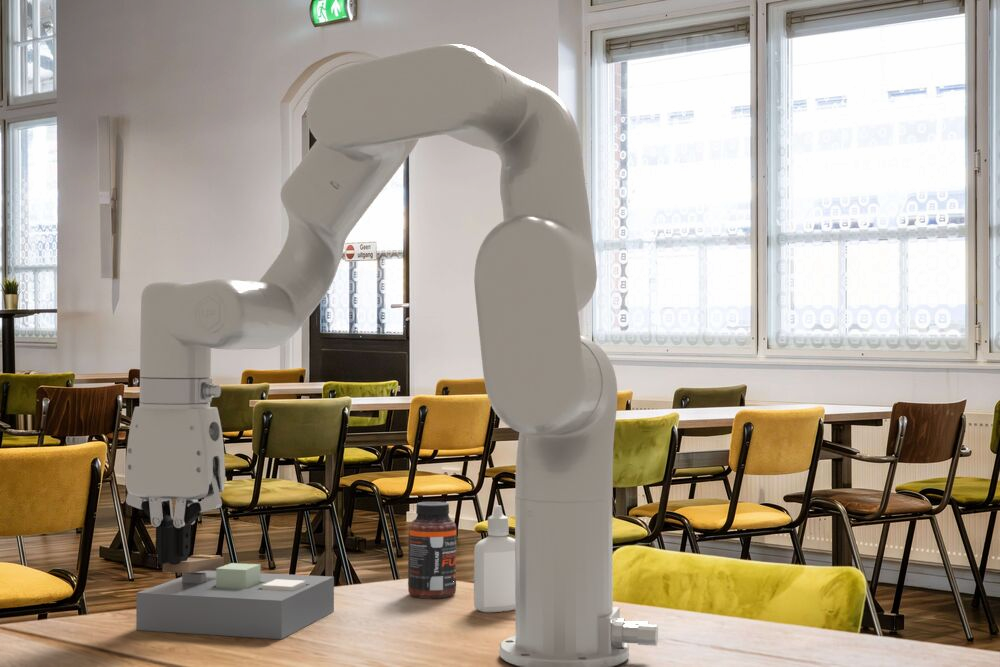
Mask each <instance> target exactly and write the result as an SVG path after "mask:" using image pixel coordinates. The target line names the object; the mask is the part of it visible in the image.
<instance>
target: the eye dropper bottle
mask: <svg viewBox="0 0 1000 667" xmlns="http://www.w3.org/2000/svg"><path fill="white" fill-rule="evenodd" d="M509 525H510V524H509V517H508V516H506V515H504V513H503V508H502V505H496V504H495V506H494V510H493V513H492V514H491V515H489V516H488V517H487V535H488V536H487V537H485V538H483V539H481V540H479V541H477V543H476V544H475V545H474V551H473V607H474V609H475V610H476V611H480V612H482V613H501V612H503V611H504V612H509V611H515V537H514V538H513V537H511V536H508V535H510V533H509Z"/></svg>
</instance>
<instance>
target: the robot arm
mask: <svg viewBox="0 0 1000 667" xmlns="http://www.w3.org/2000/svg"><path fill="white" fill-rule="evenodd" d="M305 114H306V120H307V125H308V128H309V130H310V133H311V134H312V136H313V137H314V138H315V140H316V141H315V142H314V143H313V145H312V146H311V147H310V149H309V150H308V151H307V153H306V154H305V156H304V157H303V158H302V159H301V161H300V162H299V163H298V165H297V166H296V168H295V169H294V171H293V172H292V173H291V174H290V176H289V177H288V178H287V179H286V181H285V182H284V183H283V185H282V187H281V189H280V200H281V203H282V205H283V207H284V209H285V211H286V214H287V215H286V216H287V219H288V233H287V237H286V240H285V242H284V245H283V247H282V249H281V250H280V252H279V254H278V255H277V257H276V258H275V260H274V261H273V262H272V264H271V265H270V267H269V268H268V269H267V270H266V272H264V274H263V275H262V277H260V279H259V280H258V281H255V280H254V281H253V280H246V279H245V280H244V279H232V278H230V279H229V278H217V279H211V280H205V281H200V282H198V281H197V282H188V281H187V282H183V281H157V282H151V283H149V284H147V285H145V287H144V288H143V290H142V292H141V297H140V298H141V299H140V300H141V301H140V345H139V346H140V349H139V351H140V352H139V353H140V354H139V355H140V356H139V406H134V408H133V413H132V416H131V422H130V425H129V433H128V437H127V446H126V456H125V457H126V458H125V475H124V476H125V487H126V491H127V495H126V498H125V503H126V504H127V505H128V506H131V507H133V508H136V509H139V510H142V511H143V512H144V513H145V514H146V516H147V517H148V518H149V519H150V523H151V525H152V526H153V527H155V554H157V564H158V565H159V564H160V565H163V564H165V563H170V564H172V565H176V564H179V563H180V562H181V561H187V559H188V558H189V555H190V553H191V531H192V530H191V529H192V528H191V525H194V524H195V523H196V520H197V519H198V518H199V517H200V516H201V515H202V514H203V513H204V512H207V511H212V510H215V509H220V508H221V507H222V505H223V500H222V498H221V493H222V492H224V491H225V486H226V463H225V461H226V460H225V448H224V437H223V429H222V424H221V419H220V414H219V409H218V407H217V406H211V403H213V402H212V400H213V398H220V396H221V394H222V387H221V386H220V385H219V384H213V379H212V378H211V371H212V370H211V369H212V368H211V366H212V349H215V350H232V351H233V350H235V351H236V350H237V351H238V350H271V349H273V348H276V347H278V346H281V345H283V344H284V343H286V342H287V341H288V340H289V339H291V338H292V337H293V336H294V335H295V334H296V333H298V331H299V330H300V329H301V327H303V325H304V324H305V323H306V321H307V320H308V319H309V317H310V316H311V315H312V314H313V312H314V311H315V310H316V309H317V307H318V306H319V305H320V303H321V302H322V300H324V298H325V296H326V295H327V293H328V292H329V290H330V288H331V285H332V284H333V281H334V280H335V276H336V274H337V272H338V268H339V265H340V263H341V259H342V257H343V253H344V250H345V243H346V241H347V238H348V236H349V235H350V233H351V232H352V230H353V229H354V228H355V226H356V225H357V224H358V222H359V221H360V219H361V218H362V217H363V216H364V215H365V213H366V211H367V210H368V209H369V208H370V207H371V206H372V204H373V202H374V201H375V200H376V199H377V197H378V196H379V195H380V194H381V192H382V191H383V190H384V188H385V186H387V184H389V182H390V181H391V179H392V178H393V176H395V174H396V173H397V172H398V170H399V169H400V168H401V166H402V165H403V164H404V162H406V159H408V157H409V156H410V155H411V153H412V152H413V150H414V149H415V147H416V145H417V143H418V141H419V140H420V139H424V138H430V137H435V136H441V135H447V136H448V137H451V138H453V139H455V140H457V141H460V142H462V143H465V144H468V145H469V146H472V147H473V146H474V147H476V148H481V149H485V150H488V151H491V152H493V153H495V154H497V155H498V157H499V159H500V162H501V166H500V177H499V192H500V193H499V194H500V201H501V206H502V216H503V221H501V222H499V223H498V224H496V226H494V227H493V228H492V229H491V230H490V231H489V232H488V234H487V235H486V236H485V237H484V239H483V241H482V243H481V244H480V247H479V249H478V252H477V256H476V260H475V266H474V278H473V279H474V280H473V281H474V294H475V304H476V313H477V314H476V315H477V325H478V337H479V347H480V354H481V365H482V373H483V381H484V385H485V386H484V387H485V391H486V395H487V398H488V401H489V403H490V406H491V408H492V409H493V411H494V413H495V414H496V415H497V417H498V418H499V419H500V420H501V422H502V423H504V424H505V425H507V427H509V428H510V429H512V430H513V431H516V432H517V433H519V435H518V441H517V449H516V460H515V496H514V500H515V501H514V506H515V507H514V508H515V510H514V514H515V515H514V518H515V519H514V520H515V521H514V522H515V523H514V524H515V525H514V526H515V527H514V528H515V529H514V531H515V533H514V534H515V535H514V536H515V537H514V539H515V610H514V611H515V616H514V617H515V635H512V636H510V637H507V638H505V639H504V640H502V642H501V643H499V656H500V658H501V659H502V660H504V662H506V663H508V664H510V665H513V666H515V667H616V666H618V665H620V664H623V663H625V662H626V661H627V660H628V659H629V656H630V652H629V651H630V650H629V649H630V647H629V644H636V645H638V646H654V647H657V646H658V641H659V627H658V626H659V625H657V624H650V623H649V621H638V620H636V621H626V620H625V618H624V617H622V618H621V617H620V615H621V613H620V612H621V610H620V609H621V608H620V606H614V605H613V602H614V600H613V598H614V596H613V593H614V592H613V590H614V589H613V586H614V584H613V577H614V576H613V574H614V573H613V568H614V567H613V565H614V563H613V560H614V559H613V495H614V493H613V491H614V490H613V488H614V487H613V486H614V485H613V483H614V481H613V480H614V478H613V477H614V474H613V473H614V472H613V470H614V468H613V467H614V445H615V444H614V442H615V441H614V440H615V431H616V430H615V429H616V421H617V420H616V418H617V408H618V384H617V383H618V381H617V376H616V372H615V369H614V366H613V364H612V361H611V360H610V357H609V356H608V355H607V354H606V353H605V351H604V350H603V349H602V347H600V345H598V344H597V343H596V342H594V341H593V340H591V339H590V338H587V337H585V336H583V335H581V328H580V317H579V312H580V311H582V310H583V309H584V308H585V307H586V305H588V304H589V302H590V300H591V299H592V297H593V295H594V293H595V289H596V286H597V279H598V272H597V262H596V256H595V255H596V254H595V248H594V242H593V233H592V224H591V215H590V206H589V198H588V192H587V187H586V178H585V171H584V170H585V169H584V162H583V160H584V159H583V152H582V150H583V149H582V146H581V145H582V144H581V139H580V135H579V131H578V127H577V124H576V121H575V119H574V117H573V115H572V113H571V111H570V109H569V108H568V107H567V106H566V103H564V102H563V100H561V98H560V97H559V96H558V95H557V94H556V93H554V92H553V91H551V90H550V89H549V88H547V87H546V86H543V85H541V84H539V83H537V82H535V81H533V80H530V79H529V78H526V77H525V76H521V75H520V74H517V73H515V72H513V71H511V70H510V69H508V68H507V67H506V66H504V65H502V64H501V63H499V62H497V61H495V60H494V59H492V58H491V57H490V56H488V55H487V54H485V53H484V52H483V51H480V50H478V49H477V48H474V47H471V46H468V45H463V44H456V43H453V44H452V43H450V44H449V43H447V44H439V45H434V46H433V45H432V46H428V47H423V48H419V49H415V50H410V51H406V52H401V53H397V54H394V55H387V56H384V57H378V58H374V59H370V60H365V61H361V62H357V63H354V64H353V63H352V64H350V65H349V64H348V65H346V66H342V67H341V68H338V69H336V70H334V71H332V72H330V73H329V74H328V75H326V76H324V78H322V79H321V80H320V81H319V82H318V83H317V84H316V86H315V87H314V88H313V90H312V92H311V94H310V95H309V99H308V102H307V105H306V113H305ZM200 499H202V500H201V501H199V500H200ZM173 500H175V506H174V510H173ZM173 511H174V512H173Z"/></svg>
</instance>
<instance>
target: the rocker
mask: <svg viewBox="0 0 1000 667" xmlns="http://www.w3.org/2000/svg"><path fill="white" fill-rule="evenodd" d="M224 560H225V557H223V556H221V555H220V554H219V555H215V554H214V555H213V554H197V555H190V556H188V559H187V561H181V562H180V563H179V564H176V565H172V564H170V563H165V564H162V573H178V574H179V573H180V574H181V573H193V572H200V571H214V570H216V568H219V567H222V566H225V564H224V563H225V561H224Z"/></svg>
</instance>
